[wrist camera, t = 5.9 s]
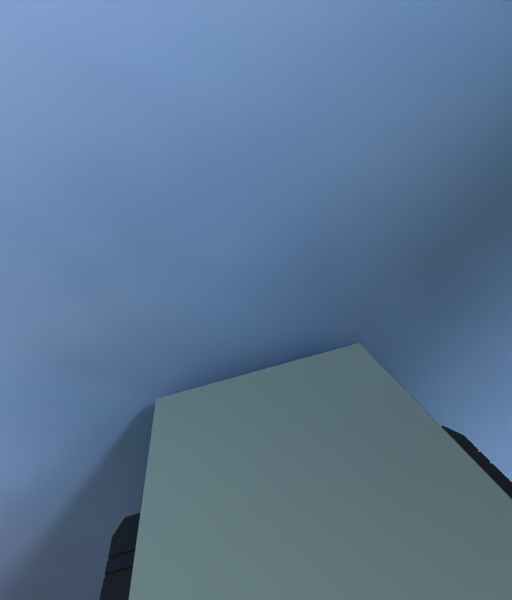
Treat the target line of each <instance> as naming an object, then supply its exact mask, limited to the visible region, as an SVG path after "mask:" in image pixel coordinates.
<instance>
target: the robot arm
mask: <svg viewBox="0 0 512 600" xmlns="http://www.w3.org/2000/svg"><path fill="white" fill-rule="evenodd" d="M441 427H442V428H443V429H444V430H445V431H446V432H447V433H448V434H449V435H450V436H451V437H452V438H453V439H454V440H455V441H456V442H457V443H458V445H459V446H460V447H461V448H462V449H463V450H464V451H465V452H466V453H467V454H468V455H469V456H470V457H471V458H472V459H473V460H474V461H475V462H476V463H477V464H478V465H479V466H480V467H481V468H482V469H483V470H484V471H485V472H486V473H487V474H488V475H489V476H490V477H491V478H492V480H493V481H494V482H495V483H496V484H497V485H498V486H499V487H500V488H501V489H502V490H503V491H504V492H505V493H506V494H507V495H508V496H509V497H510V498H511V499H512V482H511V481H510V480H509V479H508V478H507V477H506V476H505V475H504V474H503V473H502V472H500V471H499V470H498V469H497V468H496V467H495V466H494V465H493V464H491V463H490V461H489V460H488V459H487V458H486V457H485V456H484V455H483V454H482V453H481V452H478V449H477V448H476V447H475V446H474V445H473V444H472V443H471V442H470V441H469V440H468V439H467V438H466V437H465V436H464V435H462V434H460V433H457V432H455V431H453V430H451V429H449V428H447V427H444V426H441ZM142 498H143V495H142ZM141 505H142V502H141ZM140 512H141V509H140ZM139 520H140V513H138V514H135V515H131V516H128V517H125V518H124V520H123V521H122V523H121V524H120V526H119V527H118V529H117V531H116V532H115V534H114V535H113V537H112V541H111V546H110V551H109V556H108V558H109V561H107V566H106V571H105V578H104V581H103V586H102V591H101V596H100V600H129V593H130V586H131V578H132V571H133V564H134V556H135V549H136V542H137V534H138V527H139Z"/></svg>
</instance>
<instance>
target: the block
mask: <svg viewBox="0 0 512 600" xmlns="http://www.w3.org/2000/svg"><path fill="white" fill-rule="evenodd" d="M129 600H512V499H511V498H510V497H509V496H508V495H507V494H506V493H505V492H504V491H503V490H502V489H501V488H500V487H499V486H498V485H497V484H496V483H495V482H494V481H493V480H492V478H491V477H490V476H489V475H488V474H487V473H486V472H485V471H484V470H483V469H482V468H481V467H480V466H479V465H478V464H477V463H476V462H475V461H474V460H473V459H472V458H471V457H470V456H469V455H468V454H467V453H466V452H465V451H464V450H463V449H462V448H461V447H460V446H459V445H458V443H457V442H456V441H455V440H454V439H453V438H452V437H451V436H450V435H449V434H448V433H447V432H446V431H445V430H444V429H443V428H442V427H441V426H440V425H439V424H438V423H437V422H436V421H435V420H434V419H433V418H432V417H431V416H430V415H429V414H428V413H427V412H426V411H425V409H424V408H423V407H422V406H421V405H420V404H419V403H418V402H417V401H416V400H415V399H414V398H413V397H412V396H411V395H410V394H409V393H408V392H407V391H406V390H405V389H404V388H403V387H402V386H401V385H400V384H399V383H398V382H397V381H396V380H395V379H394V378H393V377H392V376H391V374H390V373H389V372H388V371H387V370H386V369H385V368H384V367H383V366H382V365H381V364H380V363H379V362H378V361H377V360H376V359H375V358H374V357H373V356H372V355H371V354H370V353H369V352H368V351H367V350H366V349H365V348H364V347H363V346H362V345H361V344H360V343H356V344H352V345H349V346H345V347H342V348H338V349H334V350H331V351H327V352H323V353H320V354H316V355H312V356H309V357H305V358H302V359H298V360H294V361H291V362H287V363H283V364H280V365H276V366H273V367H269V368H265V369H262V370H258V371H254V372H251V373H247V374H243V375H240V376H236V377H233V378H229V379H225V380H222V381H218V382H214V383H211V384H207V385H203V386H200V387H196V388H193V389H189V390H185V391H182V392H178V393H174V394H171V395H167V396H163V397H160V398H156V402H155V410H154V417H153V424H152V432H151V439H150V446H149V454H148V461H147V468H146V476H145V483H144V490H143V498H142V505H141V512H140V520H139V527H138V534H137V542H136V549H135V556H134V564H133V571H132V578H131V586H130V593H129Z"/></svg>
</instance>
